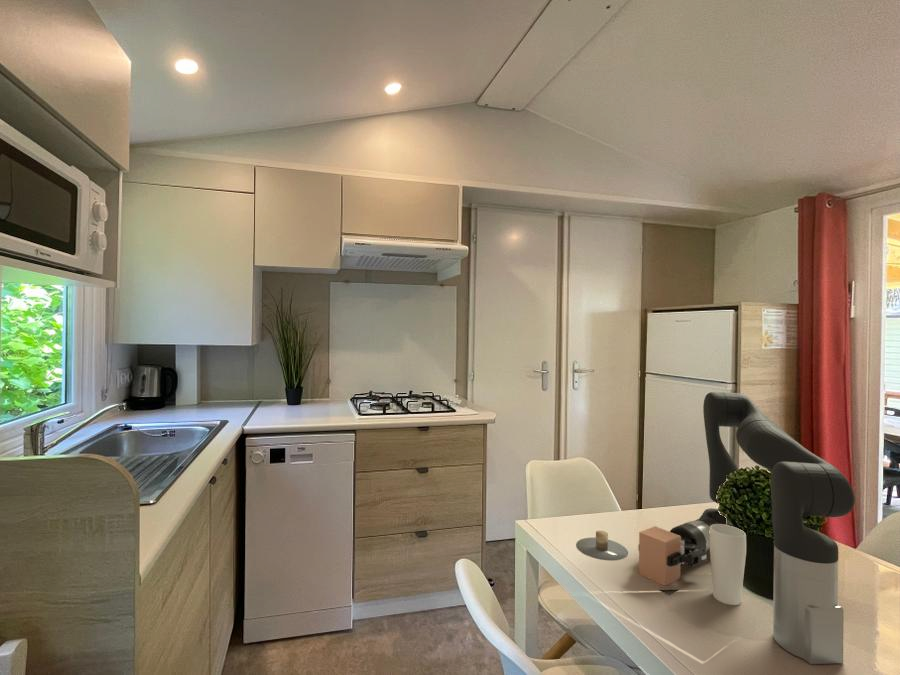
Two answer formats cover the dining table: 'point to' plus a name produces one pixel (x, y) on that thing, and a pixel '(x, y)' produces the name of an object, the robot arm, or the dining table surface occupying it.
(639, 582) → the dining table surface
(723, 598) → the drinking glass
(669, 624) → the dining table surface
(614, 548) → the plate
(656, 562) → the orange brown block
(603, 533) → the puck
